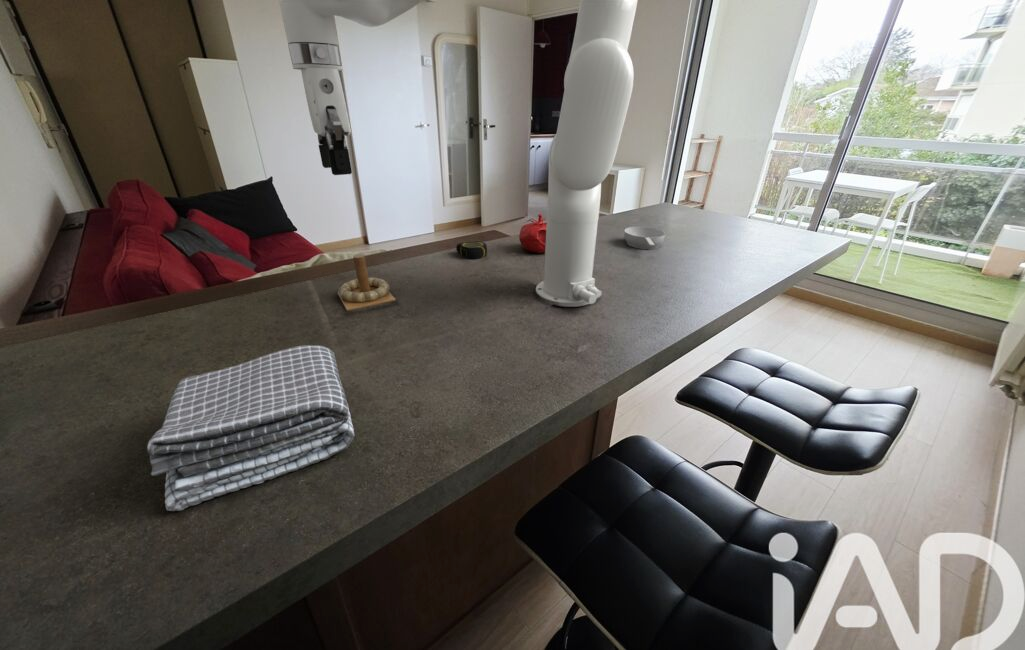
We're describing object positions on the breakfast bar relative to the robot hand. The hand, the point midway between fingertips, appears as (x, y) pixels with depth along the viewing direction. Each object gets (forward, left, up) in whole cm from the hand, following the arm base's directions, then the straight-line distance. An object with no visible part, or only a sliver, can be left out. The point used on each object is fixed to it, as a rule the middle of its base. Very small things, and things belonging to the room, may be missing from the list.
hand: (336, 170), depth 75 cm
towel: (-39, +19, -24) cm, 49 cm away
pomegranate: (+3, -47, -24) cm, 53 cm away
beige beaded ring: (-6, 0, -21) cm, 22 cm away
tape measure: (+6, -29, -24) cm, 38 cm away
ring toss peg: (-7, 0, -23) cm, 24 cm away
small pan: (-10, -73, -24) cm, 77 cm away
